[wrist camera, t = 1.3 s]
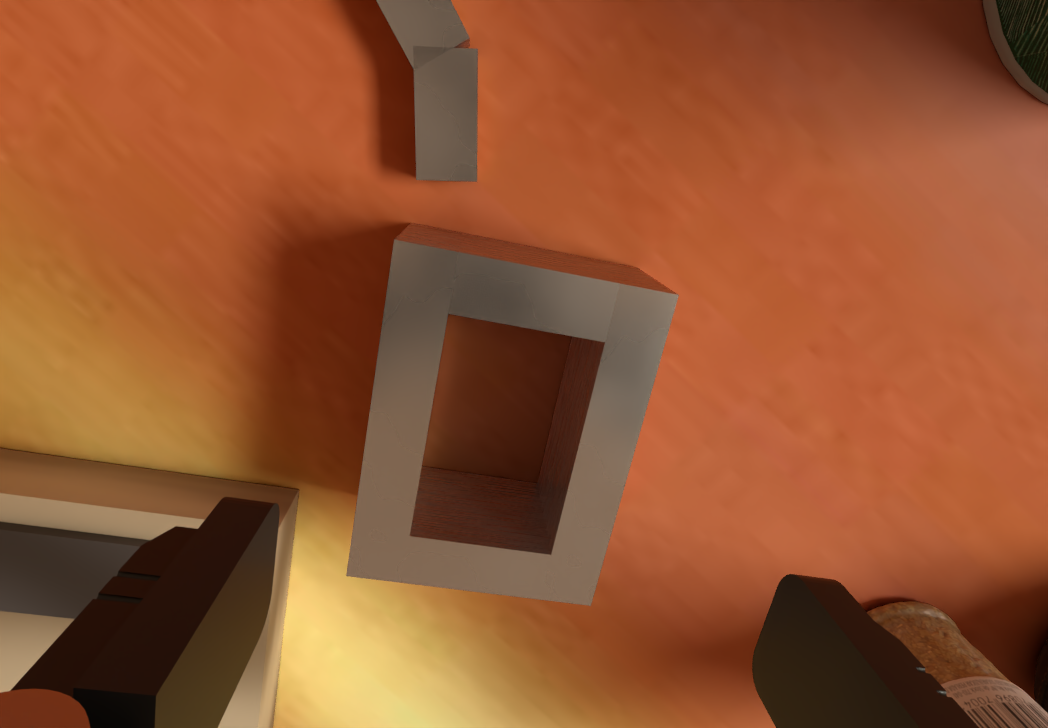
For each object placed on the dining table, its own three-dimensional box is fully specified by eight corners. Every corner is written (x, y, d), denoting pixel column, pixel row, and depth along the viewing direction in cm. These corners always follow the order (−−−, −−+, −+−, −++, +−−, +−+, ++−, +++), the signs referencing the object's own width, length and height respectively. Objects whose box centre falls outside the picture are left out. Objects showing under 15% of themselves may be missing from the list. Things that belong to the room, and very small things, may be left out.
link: (411, 222, 16) (393, 239, 12) (637, 267, 17) (678, 295, 13) (369, 499, 18) (346, 576, 15) (569, 527, 19) (590, 605, 16)
